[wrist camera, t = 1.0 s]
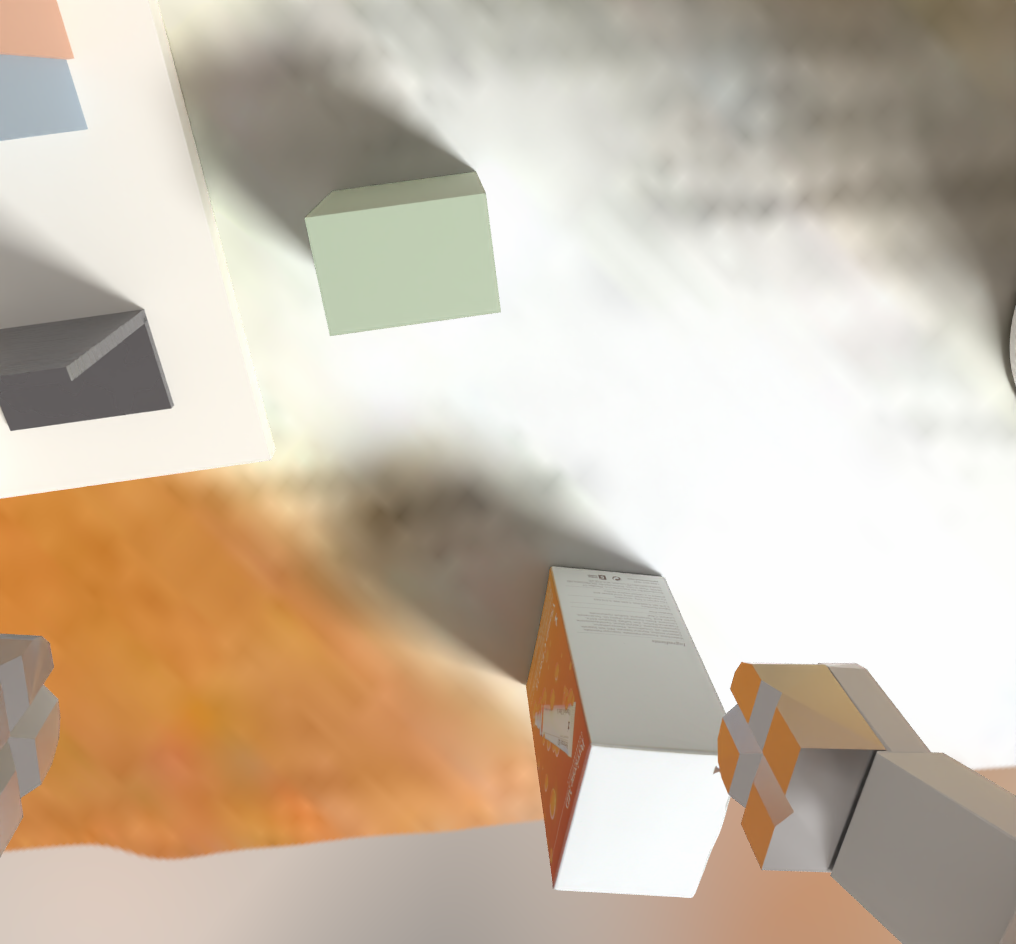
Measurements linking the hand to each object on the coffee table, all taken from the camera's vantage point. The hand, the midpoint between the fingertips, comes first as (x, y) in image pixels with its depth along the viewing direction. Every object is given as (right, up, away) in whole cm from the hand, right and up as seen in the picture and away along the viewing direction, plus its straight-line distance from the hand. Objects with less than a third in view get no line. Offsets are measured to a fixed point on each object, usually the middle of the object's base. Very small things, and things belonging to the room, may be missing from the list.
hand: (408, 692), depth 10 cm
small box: (+6, -6, +35) cm, 36 cm away
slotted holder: (-18, +13, +24) cm, 33 cm away
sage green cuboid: (-3, +13, +25) cm, 29 cm away
